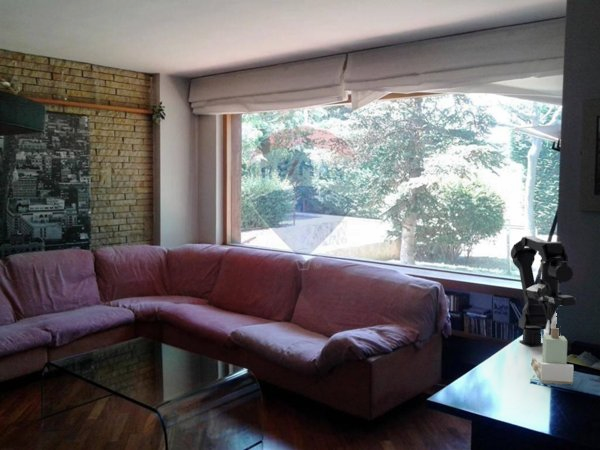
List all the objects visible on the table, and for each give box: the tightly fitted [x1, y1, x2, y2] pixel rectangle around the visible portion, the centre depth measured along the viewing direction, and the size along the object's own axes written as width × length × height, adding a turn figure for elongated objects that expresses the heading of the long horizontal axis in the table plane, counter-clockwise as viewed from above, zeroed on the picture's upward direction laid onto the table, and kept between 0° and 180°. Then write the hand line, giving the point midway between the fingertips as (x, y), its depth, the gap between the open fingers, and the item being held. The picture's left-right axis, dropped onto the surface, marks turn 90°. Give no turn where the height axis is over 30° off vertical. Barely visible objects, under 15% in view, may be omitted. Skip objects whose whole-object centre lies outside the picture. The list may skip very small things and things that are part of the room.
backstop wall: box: [541, 363, 575, 383], centre depth 167 cm, size 2×9×5 cm, turn 77°
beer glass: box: [543, 312, 557, 335], centre depth 215 cm, size 7×7×15 cm
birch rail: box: [530, 357, 574, 385], centre depth 174 cm, size 17×9×2 cm, turn 167°
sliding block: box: [541, 327, 568, 364], centre depth 170 cm, size 5×6×15 cm
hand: (548, 319), depth 192 cm, fingers closed
